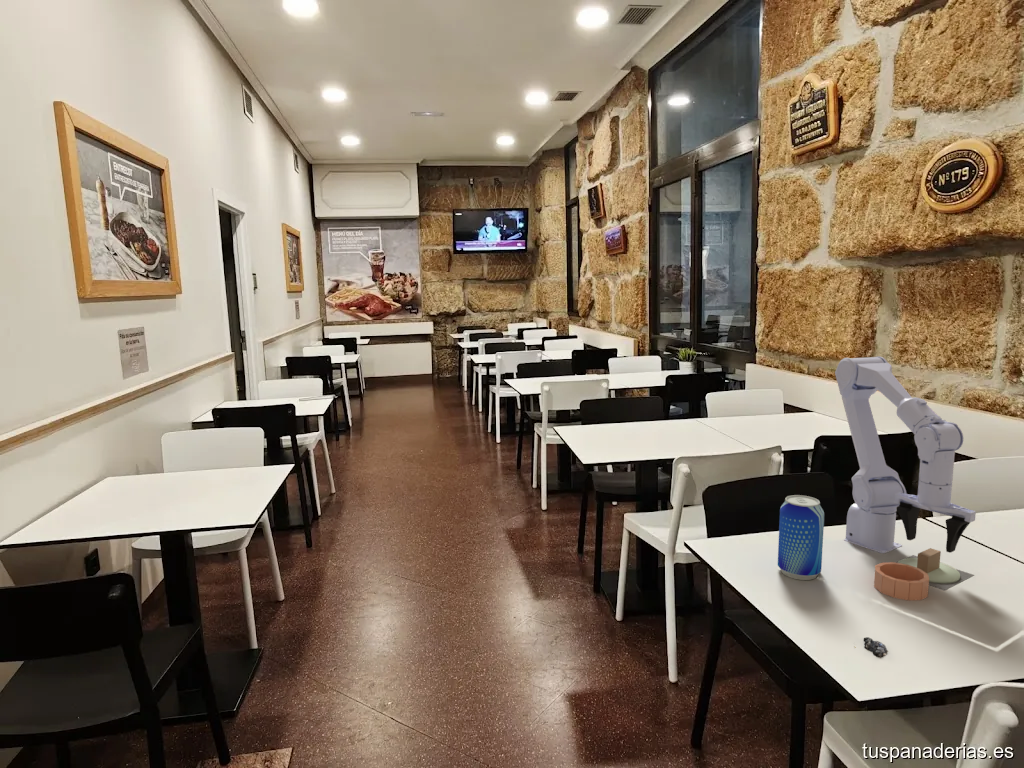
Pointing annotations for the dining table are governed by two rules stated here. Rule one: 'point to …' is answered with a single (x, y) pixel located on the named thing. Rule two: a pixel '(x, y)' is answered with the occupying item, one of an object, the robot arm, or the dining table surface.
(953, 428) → the robot arm
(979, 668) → the dining table surface
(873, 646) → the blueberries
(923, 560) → the lid
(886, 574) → the bowl
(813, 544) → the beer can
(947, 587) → the mat
